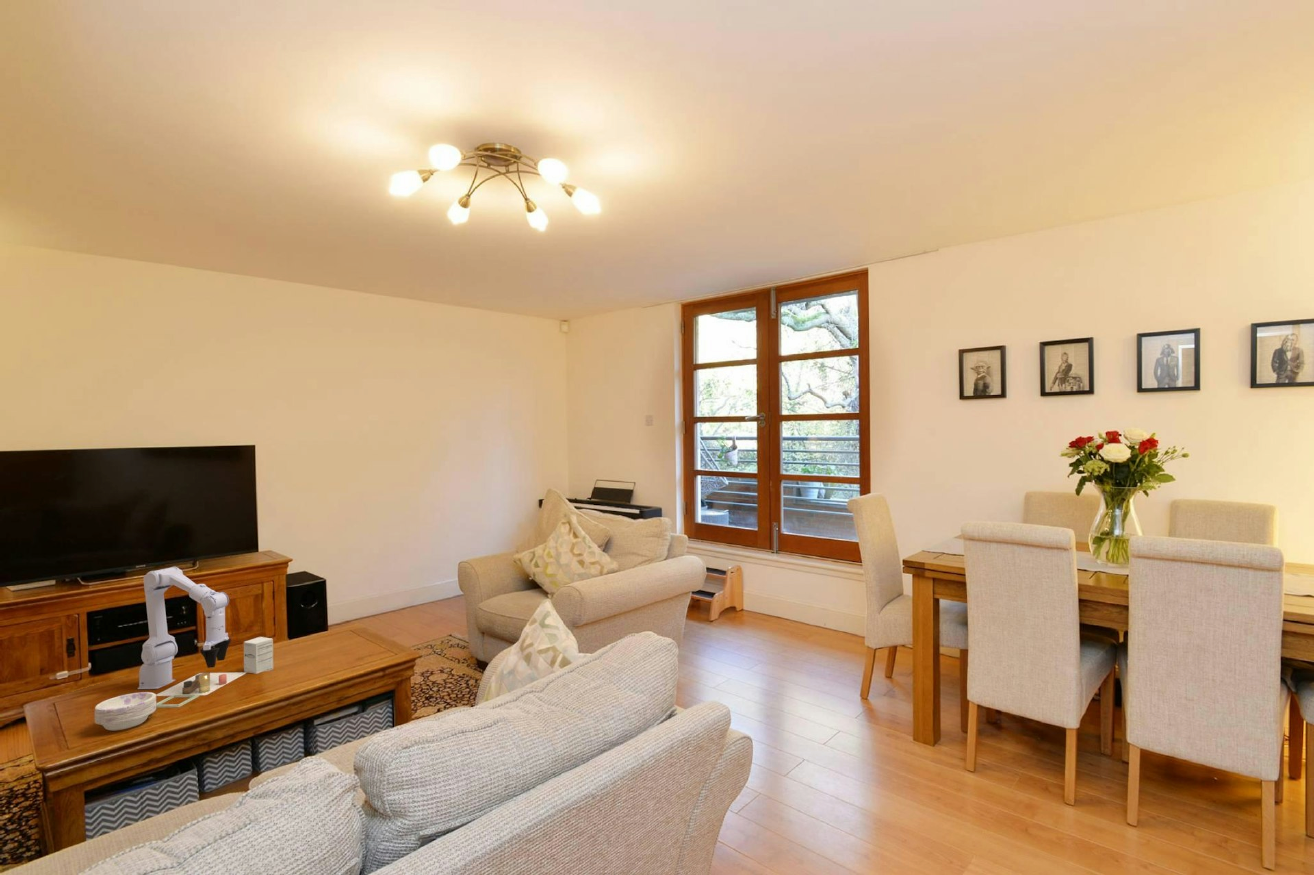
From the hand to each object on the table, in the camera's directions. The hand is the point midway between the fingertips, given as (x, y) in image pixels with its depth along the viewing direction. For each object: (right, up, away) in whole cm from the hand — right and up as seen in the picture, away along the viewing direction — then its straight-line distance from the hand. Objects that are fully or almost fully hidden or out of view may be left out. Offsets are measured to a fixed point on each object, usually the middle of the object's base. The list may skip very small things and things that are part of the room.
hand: (216, 663), depth 229 cm
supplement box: (+4, -10, +18) cm, 21 cm away
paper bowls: (-9, -10, -28) cm, 31 cm away
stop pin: (-2, -9, -4) cm, 10 cm away
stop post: (0, -10, +3) cm, 10 cm away
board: (-8, -10, +4) cm, 13 cm away
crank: (-7, -9, 0) cm, 11 cm away
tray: (-5, -10, -12) cm, 17 cm away
